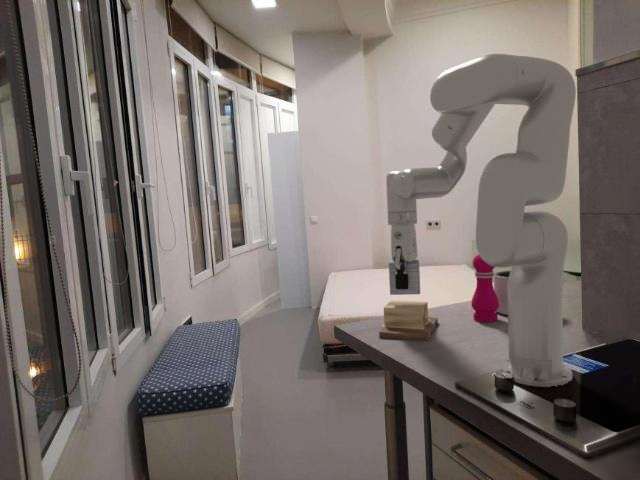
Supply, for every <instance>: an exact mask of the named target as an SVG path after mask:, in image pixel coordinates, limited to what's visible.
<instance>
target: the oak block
mask: <svg viewBox="0 0 640 480" xmlns="http://www.w3.org/2000/svg"><path fill="white" fill-rule="evenodd" d="M428 303H429V302H428V301H415V300H413V301H412V300H390V301H389V302H388V303H387V304H385V306H383V322H384V323H383V325H384V326H393V327H410V328H423V327H424V325H425V324H426V322H427V321H428V317H429V310H428V309H429V308H428V306H429V305H428Z"/></svg>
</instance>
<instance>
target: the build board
mask: <svg viewBox="0 0 640 480" xmlns="http://www.w3.org/2000/svg"><path fill="white" fill-rule="evenodd" d="M438 321H439V319H438V317H432V316H431V317H430V316H428V321H427V322H426V324H425V325H424V327H423V328H410V327H393V326H384V324H382V326H381V327H382V328H381V329H380V330H379V332H378V336H379V338H382V339H392V340H393V339H395V340H396V339H397V340H409V341H412V340H413V341H422V342H423V341H424V342H426V341H428V340H429V338H430V336H431V335H432V333H433V332H434V330H435V329H436V327H437V325H438V323H439V322H438Z"/></svg>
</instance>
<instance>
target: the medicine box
mask: <svg viewBox="0 0 640 480" xmlns="http://www.w3.org/2000/svg"><path fill="white" fill-rule="evenodd" d="M401 262H405V260H401ZM403 267H404V265H403ZM407 274H408V289H396V278H395V263H394V262H393V261H392V260H389V262H388V279H389V294H390V296H393V295H395V296H396V295H397V296H398V295H400V296H401V295H420V294H421V276H420V274H421V272H420V260H419V259H415V260H414V261H412V262H411V263H408V261H407Z"/></svg>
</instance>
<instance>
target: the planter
mask: <svg viewBox="0 0 640 480" xmlns="http://www.w3.org/2000/svg"><path fill="white" fill-rule="evenodd" d="M510 271H511V270H504V271H497V272H494V273H493V274H494V277H493V288H494V291H495V293H496V295H497V297H498V301H499V308H498V309H497V310H496V311H495V312H496V313H497V314H500V315H502V316H506V317H508V279H509V275H510Z"/></svg>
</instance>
